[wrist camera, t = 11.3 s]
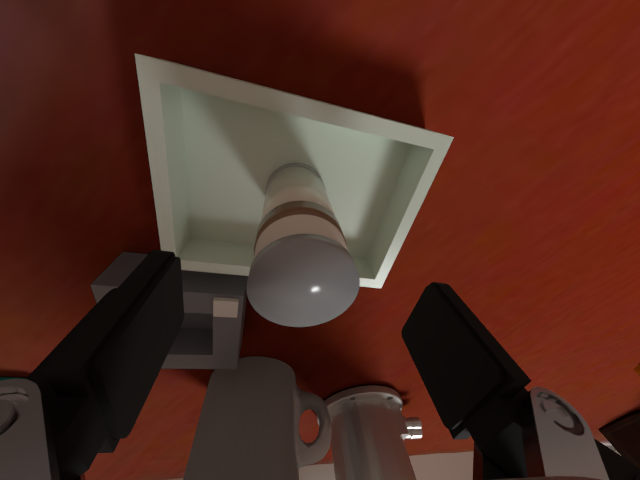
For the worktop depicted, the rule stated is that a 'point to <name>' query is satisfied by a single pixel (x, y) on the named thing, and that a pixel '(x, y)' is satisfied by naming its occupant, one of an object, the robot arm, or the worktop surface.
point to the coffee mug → (255, 425)
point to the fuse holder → (195, 314)
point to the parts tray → (274, 166)
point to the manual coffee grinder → (625, 436)
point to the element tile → (637, 369)
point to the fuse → (300, 253)
